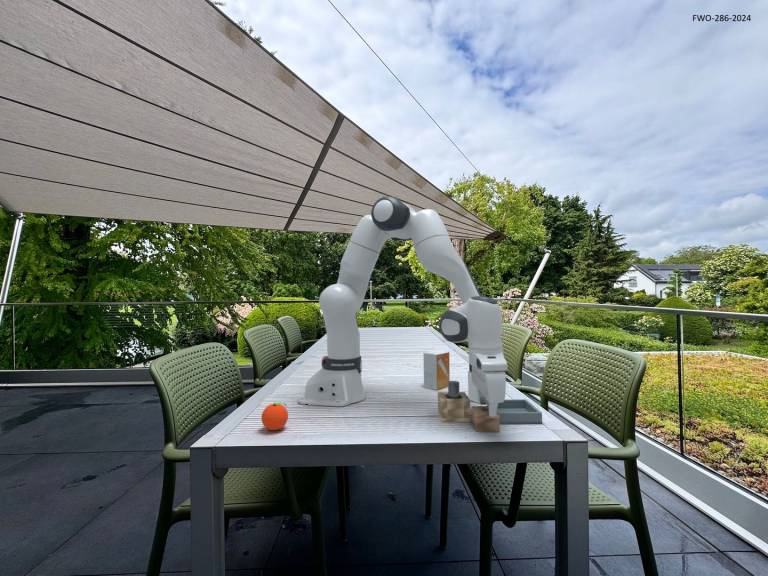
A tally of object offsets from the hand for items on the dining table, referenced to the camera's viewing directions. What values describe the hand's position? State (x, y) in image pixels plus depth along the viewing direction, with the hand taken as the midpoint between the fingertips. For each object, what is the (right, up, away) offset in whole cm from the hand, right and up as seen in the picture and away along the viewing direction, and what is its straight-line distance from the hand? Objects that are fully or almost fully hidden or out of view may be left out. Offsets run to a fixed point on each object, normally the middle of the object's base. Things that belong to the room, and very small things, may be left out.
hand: (487, 409), depth 100 cm
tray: (+10, -5, +8) cm, 13 cm away
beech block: (-7, -5, +8) cm, 12 cm away
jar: (+5, -5, +24) cm, 25 cm away
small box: (-8, -5, +40) cm, 42 cm away
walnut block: (-1, -5, 0) cm, 5 cm away
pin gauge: (-7, -4, +9) cm, 12 cm away
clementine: (-57, -6, +2) cm, 57 cm away
